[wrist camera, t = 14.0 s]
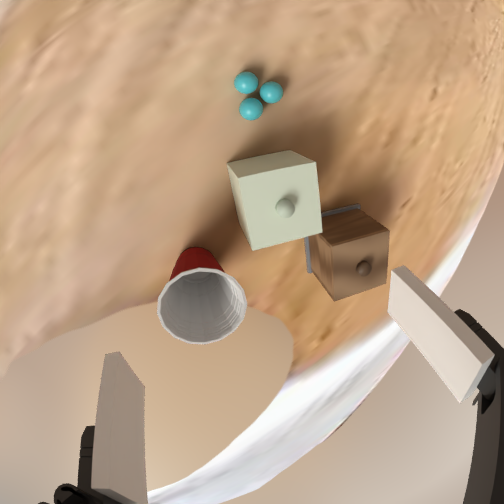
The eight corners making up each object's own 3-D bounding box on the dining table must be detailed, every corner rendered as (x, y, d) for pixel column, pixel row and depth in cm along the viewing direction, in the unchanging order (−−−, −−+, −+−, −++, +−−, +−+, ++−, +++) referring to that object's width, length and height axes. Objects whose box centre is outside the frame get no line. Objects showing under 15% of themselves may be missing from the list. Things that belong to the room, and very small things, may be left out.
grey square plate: (301, 216, 46) (303, 218, 45) (358, 203, 47) (360, 204, 46) (307, 271, 51) (308, 273, 50) (359, 256, 52) (360, 257, 51)
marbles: (230, 74, 34) (234, 72, 32) (274, 68, 35) (281, 66, 32) (254, 199, 43) (259, 205, 40) (293, 190, 44) (301, 196, 41)
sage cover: (226, 163, 40) (239, 180, 31) (289, 149, 41) (319, 163, 32) (239, 223, 44) (254, 254, 36) (297, 208, 45) (325, 235, 36)
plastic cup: (243, 241, 46) (262, 285, 35) (217, 299, 49) (228, 351, 39) (173, 219, 42) (171, 260, 31) (152, 282, 45) (147, 334, 35)
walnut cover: (306, 220, 46) (335, 250, 37) (357, 208, 47) (393, 233, 38) (311, 270, 50) (337, 305, 41) (358, 256, 51) (389, 286, 42)
